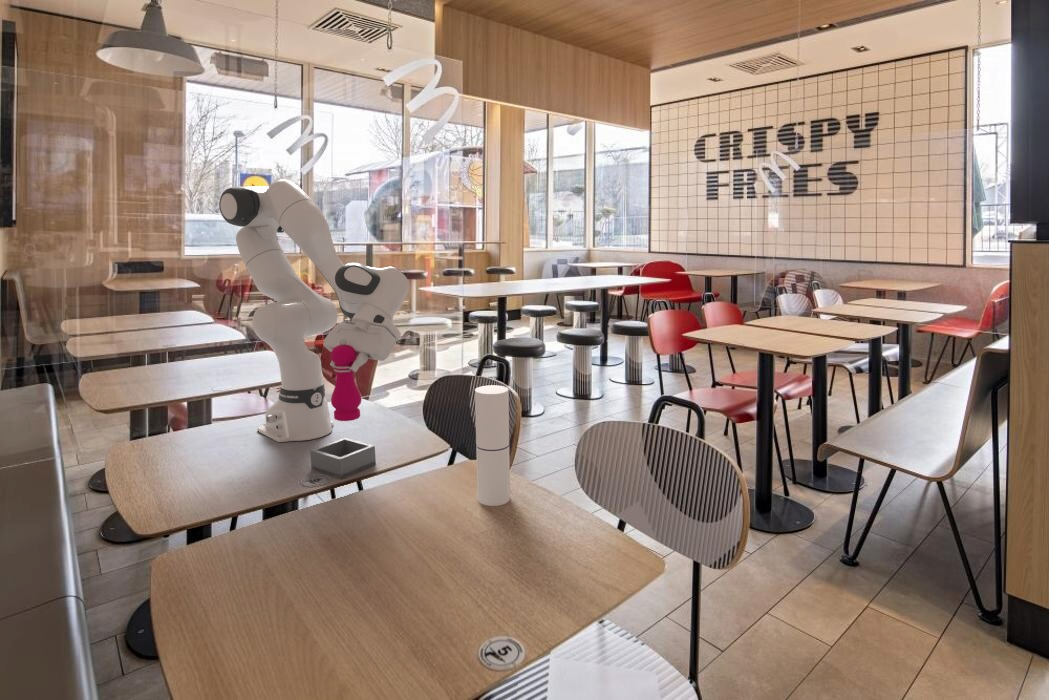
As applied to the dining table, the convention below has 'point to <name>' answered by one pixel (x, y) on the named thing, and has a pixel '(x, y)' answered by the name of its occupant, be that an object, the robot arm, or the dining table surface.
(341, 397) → the pepper mill
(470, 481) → the dining table surface
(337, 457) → the box
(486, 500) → the cylindrical container
